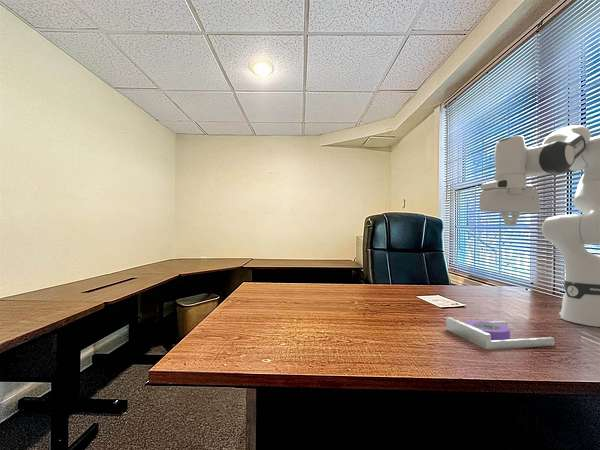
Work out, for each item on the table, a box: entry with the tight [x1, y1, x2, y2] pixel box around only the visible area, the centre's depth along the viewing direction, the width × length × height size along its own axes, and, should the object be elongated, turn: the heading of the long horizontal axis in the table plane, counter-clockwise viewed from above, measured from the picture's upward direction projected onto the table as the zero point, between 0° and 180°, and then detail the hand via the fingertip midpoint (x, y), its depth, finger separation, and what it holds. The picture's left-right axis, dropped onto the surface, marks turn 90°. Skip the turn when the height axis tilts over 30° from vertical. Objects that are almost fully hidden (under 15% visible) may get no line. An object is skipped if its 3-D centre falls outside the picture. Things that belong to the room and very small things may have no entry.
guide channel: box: [445, 316, 556, 350], centre depth 93 cm, size 22×17×4 cm
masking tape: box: [464, 320, 511, 340], centre depth 92 cm, size 12×12×4 cm
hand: (510, 226), depth 101 cm, fingers closed
